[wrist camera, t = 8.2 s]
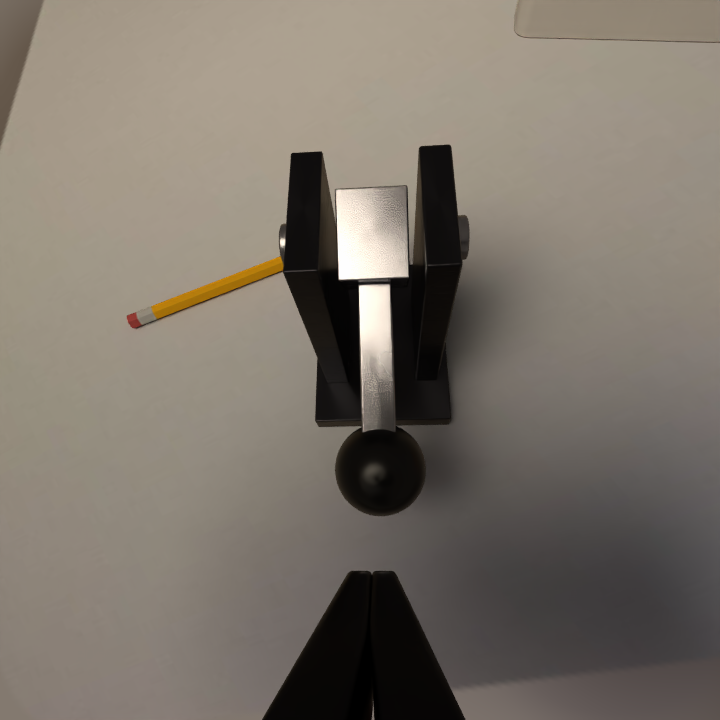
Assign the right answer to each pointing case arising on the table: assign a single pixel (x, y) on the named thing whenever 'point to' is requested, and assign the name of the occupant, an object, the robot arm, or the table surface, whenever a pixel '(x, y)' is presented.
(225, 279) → the pencil
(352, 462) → the ball knob lever
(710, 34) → the slotted bracket
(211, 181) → the table surface
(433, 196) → the bracket
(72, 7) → the table surface
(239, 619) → the table surface
